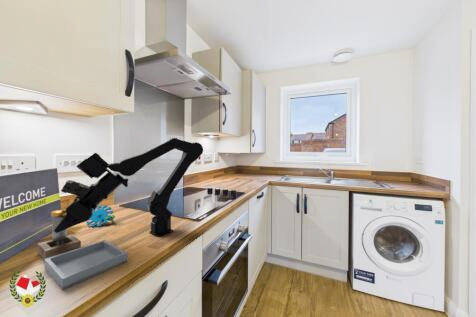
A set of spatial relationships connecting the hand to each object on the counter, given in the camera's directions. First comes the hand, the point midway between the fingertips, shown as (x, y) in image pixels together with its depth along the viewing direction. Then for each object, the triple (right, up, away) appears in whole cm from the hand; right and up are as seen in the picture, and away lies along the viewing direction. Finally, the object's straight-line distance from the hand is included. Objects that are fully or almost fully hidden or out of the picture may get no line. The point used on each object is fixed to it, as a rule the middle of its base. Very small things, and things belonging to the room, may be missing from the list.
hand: (59, 226), depth 59 cm
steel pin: (0, -8, 0) cm, 8 cm away
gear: (-4, -8, +24) cm, 25 cm away
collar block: (0, -8, 0) cm, 8 cm away
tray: (+14, -8, -6) cm, 17 cm away
